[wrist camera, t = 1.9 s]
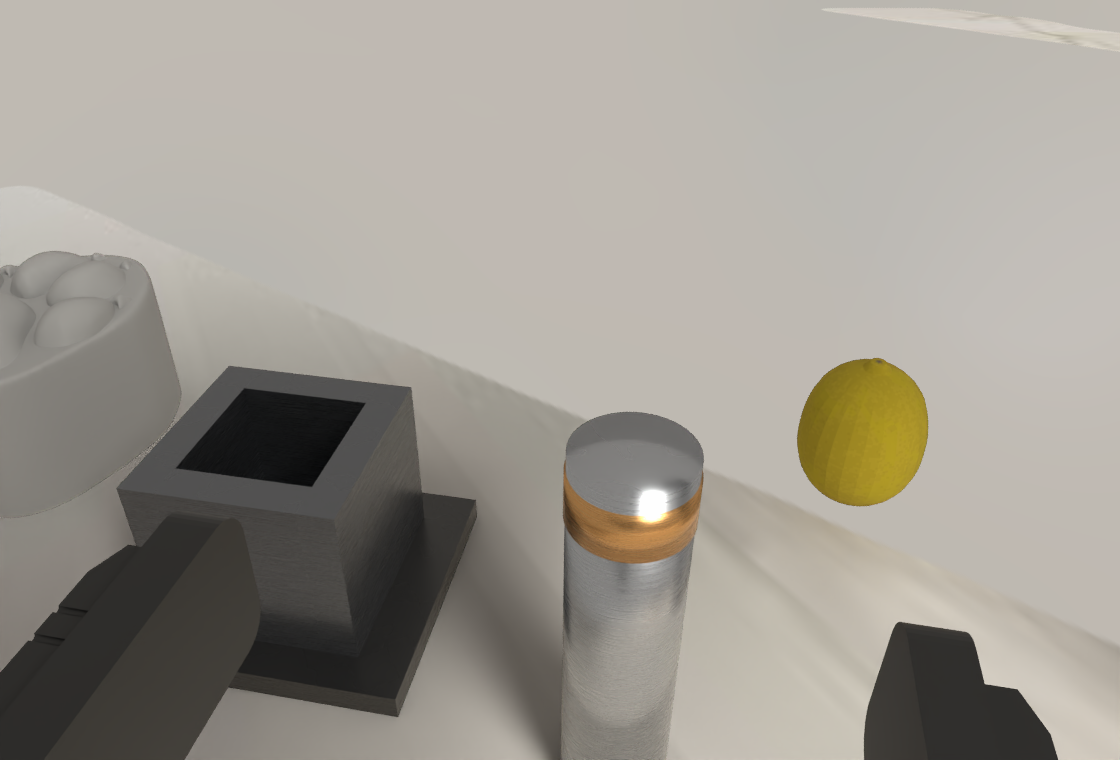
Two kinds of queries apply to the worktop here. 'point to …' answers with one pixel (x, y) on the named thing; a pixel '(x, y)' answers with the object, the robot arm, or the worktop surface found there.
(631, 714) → the silver copper-banded cylinder
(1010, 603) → the worktop surface
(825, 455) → the lemon
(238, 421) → the dark grey open bin
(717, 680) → the worktop surface
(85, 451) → the lumpy-topped squat cylinder
